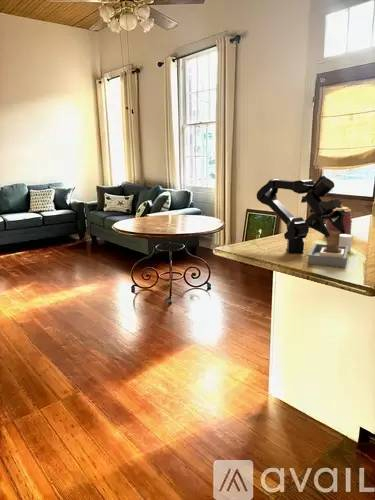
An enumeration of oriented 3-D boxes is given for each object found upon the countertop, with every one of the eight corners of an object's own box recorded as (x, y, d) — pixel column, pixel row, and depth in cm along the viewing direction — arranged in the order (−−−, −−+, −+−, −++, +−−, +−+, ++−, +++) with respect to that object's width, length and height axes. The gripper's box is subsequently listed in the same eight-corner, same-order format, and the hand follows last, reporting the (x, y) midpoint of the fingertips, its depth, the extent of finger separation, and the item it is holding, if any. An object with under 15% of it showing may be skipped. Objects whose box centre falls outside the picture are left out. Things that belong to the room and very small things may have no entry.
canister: (331, 232, 205) (334, 200, 200) (355, 236, 196) (358, 202, 191) (319, 236, 197) (322, 203, 192) (343, 240, 187) (346, 205, 183)
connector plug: (330, 262, 148) (333, 232, 145) (323, 259, 152) (325, 230, 149) (340, 260, 150) (342, 231, 147) (332, 258, 154) (334, 229, 151)
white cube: (341, 252, 165) (342, 237, 164) (332, 248, 172) (334, 234, 170) (355, 251, 167) (356, 236, 165) (346, 247, 173) (347, 233, 171)
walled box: (307, 264, 150) (308, 252, 148) (314, 252, 167) (314, 241, 166) (345, 268, 144) (346, 255, 142) (347, 255, 161) (348, 244, 160)
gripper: (312, 193, 143) (334, 225, 136) (344, 189, 152) (366, 220, 145) (296, 211, 151) (315, 242, 145) (327, 206, 160) (346, 236, 154)
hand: (336, 234), depth 147 cm, fingers open, 9 cm apart
